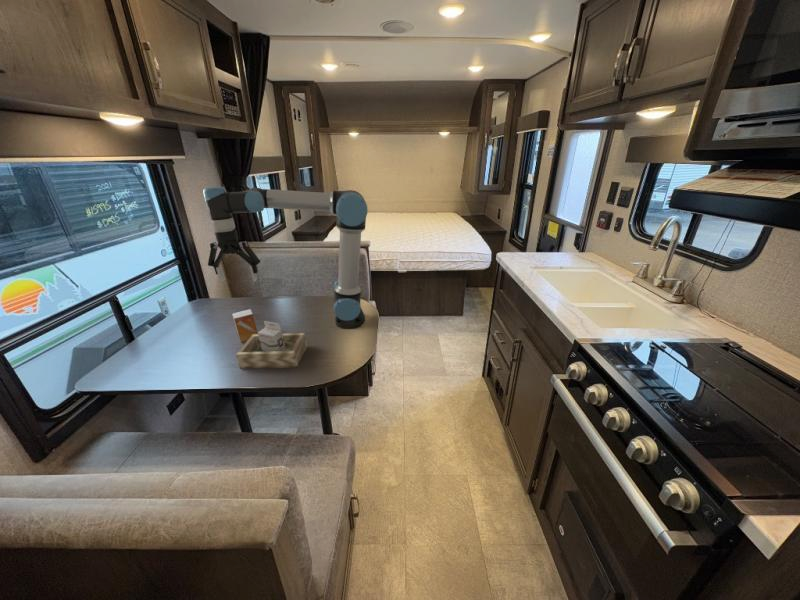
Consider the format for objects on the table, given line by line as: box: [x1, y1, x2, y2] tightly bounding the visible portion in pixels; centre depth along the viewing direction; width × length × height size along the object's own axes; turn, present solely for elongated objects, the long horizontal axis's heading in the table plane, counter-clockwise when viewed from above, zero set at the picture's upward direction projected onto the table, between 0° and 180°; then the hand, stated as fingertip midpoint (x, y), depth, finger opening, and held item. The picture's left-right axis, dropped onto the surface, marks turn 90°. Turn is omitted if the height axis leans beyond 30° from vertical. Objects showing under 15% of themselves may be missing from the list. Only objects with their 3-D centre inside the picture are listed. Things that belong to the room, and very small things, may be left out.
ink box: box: [257, 320, 286, 352], centre depth 128 cm, size 9×5×15 cm, turn 72°
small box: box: [232, 308, 259, 344], centre depth 144 cm, size 8×6×13 cm
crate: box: [235, 332, 308, 370], centre depth 130 cm, size 23×15×7 cm, turn 90°
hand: (239, 281), depth 127 cm, fingers open, 13 cm apart
